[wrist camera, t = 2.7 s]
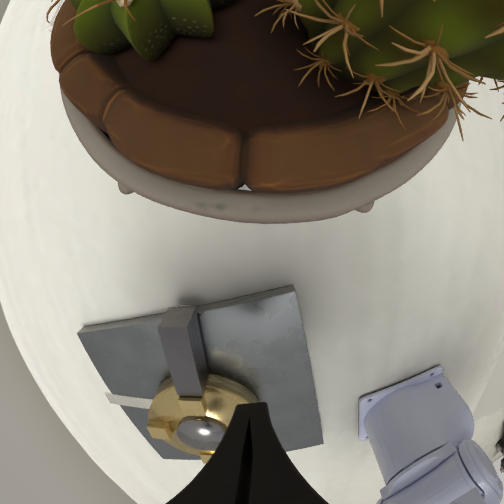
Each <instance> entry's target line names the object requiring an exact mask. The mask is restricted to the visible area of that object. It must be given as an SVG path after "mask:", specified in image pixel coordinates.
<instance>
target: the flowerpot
mask: <svg viewBox="0 0 504 504" xmlns="http://www.w3.org/2000/svg"><path fill="white" fill-rule="evenodd" d="M52 1H53V0H52ZM52 1H51V2H52ZM59 1H60V0H57V1H56V2H55V3H54V4H53V5H52V6H51V7H50V8H49V10H48V12H47V22H48V23H50V22H49V21H48V14H49V13H50V11H51V10H52V9H53V7H54V6H55V5H56V4H57V3H58V2H59ZM50 44H51V56H52V61H53V64H54V67H55V69H56V70H57V71H58V72H59V83H60V89H61V95H62V100H63V104H64V107H65V110H66V113H67V116H68V118H69V121H70V123H71V125H72V127H73V129H74V131H75V133H76V135H77V137H78V138H79V140H80V142H81V143H82V145H83V146H84V148H85V149H86V151H87V152H88V154H89V155H90V156H91V157H92V159H93V160H94V161H95V162H96V163H97V164H98V165H99V166H100V167H101V168H102V169H103V170H104V171H105V172H106V173H107V174H108V175H110V176H111V177H112V178H114V179H115V180H116V181H118V186H119V190H120V191H121V192H122V193H123V194H130V193H133V192H135V193H137V194H139V195H141V196H143V197H145V198H147V199H150V200H152V201H154V202H157V203H160V204H163V205H166V206H169V207H172V208H175V209H178V210H182V211H186V212H189V213H193V214H197V215H201V216H206V217H211V218H216V219H221V220H228V221H235V222H243V223H261V224H278V223H299V222H310V221H318V220H324V219H329V218H334V217H337V216H340V215H343V214H346V213H348V212H350V211H353V210H357V211H359V212H362V213H366V212H368V211H370V210H371V209H372V207H373V204H374V201H375V200H377V199H379V198H381V197H383V196H384V195H386V194H388V193H390V192H392V191H394V190H395V189H397V188H399V187H400V186H402V185H403V184H404V183H406V182H407V181H409V180H410V179H411V178H412V177H414V176H415V175H416V174H417V173H418V172H419V171H421V170H422V169H423V168H424V167H425V166H426V165H427V164H428V163H429V162H430V161H431V160H432V159H433V157H434V156H435V155H436V154H437V153H438V151H439V150H440V149H441V148H442V146H443V145H444V143H445V141H446V140H447V138H448V137H449V135H450V133H451V131H452V129H453V127H454V124H455V122H456V119H457V122H458V126H459V130H460V133H461V137H462V140H463V135H462V129H461V125H460V121H459V117H458V113H459V115H460V117H461V118H462V119H463V120H464V118H463V116H462V114H461V112H462V111H461V110H460V106H461V103H462V104H463V105H464V106H465V107H466V108H467V109H468V111H469V112H470V113H471V111H470V110H469V108H470V109H471V110H473V111H474V112H476V113H477V114H479V115H481V116H484V117H487V118H490V117H488V116H486V115H484V114H481V113H479V112H478V111H476V110H475V109H473V108H472V107H470V106H469V105H467V104H466V103H465V101H464V100H463V97H468V98H477V97H472V96H467V95H473V94H477V93H466V91H467V87H468V85H469V84H470V83H469V80H472V81H475V82H479V84H480V83H482V84H485V83H484V82H482V80H483V77H487V78H492V79H494V81H495V84H496V86H497V88H495V89H489V90H498V89H501V88H503V87H504V85H503V86H501V87H498V85H497V82H496V79H497V80H504V0H65V2H64V3H63V5H62V6H61V8H60V10H59V12H58V14H57V16H56V18H55V21H54V25H53V28H52V33H51V42H50ZM477 76H481V79H480V80H478V79H476V78H475V77H477ZM499 82H503V83H504V81H499ZM468 83H469V84H468ZM485 85H486V84H485ZM498 92H499V90H498ZM465 94H467V95H465ZM502 104H504V102H503V103H502ZM462 113H463V112H462ZM463 114H464V113H463ZM464 115H465V114H464ZM465 116H466V115H465ZM503 118H504V115H503V117H502V119H503ZM490 119H492V118H490ZM502 119H501V120H500V122H501V121H502ZM244 184H246V185H247V187H248V188H250V189H251V190H253V191H247V190H239V189H238V188H240V187H242V186H243V185H244Z"/></svg>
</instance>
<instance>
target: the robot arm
mask: <svg viewBox="0 0 504 504" xmlns="http://www.w3.org/2000/svg"><path fill="white" fill-rule="evenodd" d="M442 370H443V367H442V366H441V365H439V366H437V367H435V368H433V369H431V370H428V371H426V372H424V373H422V374H420V375H418V376H415V377H413V378H411V379H408V380H406V381H404V382H401V383H399V384H396V385H394V386H391V387H389V388H386V389H383V390H381V391H378V392H375V393H372V394H370V395H367V396H364V397H362V398H361V399H360V400H359V441H364V440H367V439H369V440H370V443H371V446H372V448H373V451H374V454H375V456H376V459H377V462H378V464H379V467H380V470H381V473H382V476H383V478H384V481H385V484H386V486H385V487H384V488H382V489H381V490H380V492H381V495H382V498H381V499H379V500H378V502H377V504H500V502H501V500H502V495H503V494H502V492H503V485H502V482H501V480H500V478H499V477H498V475H497V473H496V470H495V468H494V466H493V464H492V463H491V461H490V459H489V458H488V456H487V455H486V453H485V452H484V451H483V450H482V448H481V447H480V446H479V445H478V444H477V443H476V442H475V441H473V440H471V439H472V436H473V433H474V420H473V416H472V413H471V411H470V409H469V407H468V405H467V404H466V403H465V401H464V400H463V399H462V397H461V396H460V395H459V394H458V392H457V391H456V390H455V389H454V387H453V386H452V385H451V384H450V382H449V381H448V380H447V379H446V378H445V376H444V375H443V374H442ZM166 504H329V503H328V502H326V501H325V500H324V499H323V498H322V497H321V496H320V495H319V494H318V493H317V492H316V491H315V490H314V489H313V488H312V487H311V486H310V485H309V483H308V482H307V481H306V480H305V479H304V478H303V476H302V475H301V474H300V473H299V471H298V470H297V469H296V467H295V466H294V464H293V463H292V462H291V460H290V459H289V457H288V455H287V454H286V452H285V450H284V449H283V447H282V445H281V443H280V441H279V439H278V437H277V435H276V433H275V431H274V428H273V426H272V423H271V419H270V414H269V409H268V405H267V403H266V402H257V403H247V404H238V405H236V407H235V410H234V413H233V416H232V418H231V421H230V423H229V425H228V428H227V430H226V432H225V434H224V436H223V438H222V440H221V441H220V443H219V445H218V446H217V448H216V450H215V451H214V453H213V455H212V456H211V458H210V459H209V461H208V462H207V463H206V465H205V466H204V467H203V469H202V470H201V471H200V472H199V473H198V474H197V476H196V477H195V478H194V479H193V480H192V481H191V482H190V483H189V484H188V485H187V486H186V487H185V488H184V489H183V490H182V491H181V492H180V493H178V494H177V495H176V496H175V497H174V498H172V499H171V500H170V501H168V502H167V503H166Z"/></svg>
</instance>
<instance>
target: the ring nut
mask: <svg viewBox="0 0 504 504" xmlns="http://www.w3.org/2000/svg"><path fill="white" fill-rule="evenodd" d="M157 328H158V332H159V336H160V340H161V343H162V347H163V350H164V354H165V357H166V361H167V364H168V367H169V371H170V374H171V377H170V378H169V379H167V380H165V381H164V382H163V383H162V384H161V385H160V386H159V387H158V389H157V391H156V394H155V396H154V398H153V401H152V403H151V406H150V408H149V411H148V419H149V421H148V423H147V426H146V427H147V429H148V431H149V433H150V435H151V436H152V438H156V439H163V440H164V441H165V442H167V443H168V444H170V445H171V446H173V447H175V448H177V449H179V450H181V451H184V452H187V453H190V454H193V455H197V456H200V457H201V459H202V461H203V463H207V462H208V461H209V459H210V458H211V456H212V455H213V453H214V451H215V450H216V448H217V446H218V445H219V443H220V441H221V440H222V438H223V436H224V434H225V432H226V430H227V428H228V425H229V423H230V421H231V418H232V416H233V413H234V410H235V407H236V405H238V404H247V403H257V402H259V401H258V400H257V398H256V397H255V396H254V395H253V393H252V392H250V391H249V390H248V389H247V388H245V387H244V386H242V385H241V384H239V383H237V382H235V381H233V380H230V379H228V378H225V377H222V376H218V375H214V374H208V373H209V372H208V367H207V363H206V358H205V353H204V348H203V343H202V338H201V333H200V328H199V322H198V317H197V311H196V307H176V308H169V309H168V311H167V312H166V314H165V316H164V317H163V319H162V320H161V322H160V324H159V325H158V327H157Z"/></svg>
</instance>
